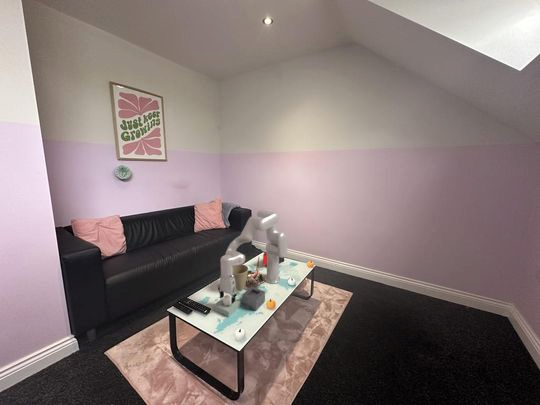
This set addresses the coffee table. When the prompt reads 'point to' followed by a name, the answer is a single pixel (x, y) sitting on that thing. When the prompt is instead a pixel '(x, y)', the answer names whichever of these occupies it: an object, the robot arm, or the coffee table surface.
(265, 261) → the game console
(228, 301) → the plug
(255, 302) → the dark grey rounded block
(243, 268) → the plant pot
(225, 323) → the coffee table surface
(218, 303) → the block
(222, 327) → the coffee table surface
